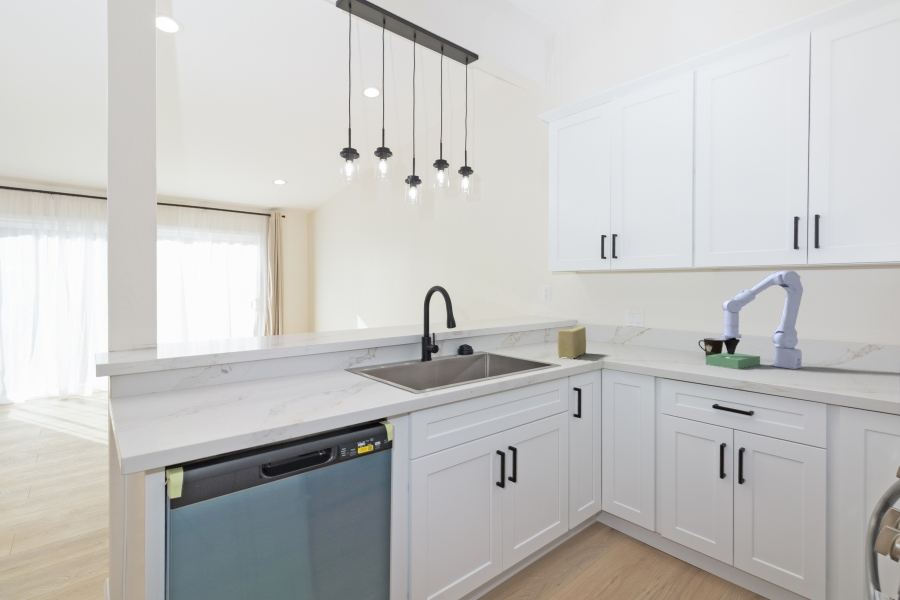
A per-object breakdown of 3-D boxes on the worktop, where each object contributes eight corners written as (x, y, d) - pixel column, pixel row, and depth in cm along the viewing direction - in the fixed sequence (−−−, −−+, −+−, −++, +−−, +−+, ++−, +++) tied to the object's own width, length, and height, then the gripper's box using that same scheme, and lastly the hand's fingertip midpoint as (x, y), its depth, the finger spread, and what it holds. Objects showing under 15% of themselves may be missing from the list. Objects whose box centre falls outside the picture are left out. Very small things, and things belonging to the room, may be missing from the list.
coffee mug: (727, 359, 213) (727, 340, 212) (709, 359, 213) (710, 340, 212) (713, 356, 224) (713, 337, 224) (696, 356, 224) (697, 337, 224)
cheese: (576, 352, 239) (576, 326, 239) (593, 354, 233) (593, 327, 232) (557, 357, 223) (557, 329, 222) (574, 359, 216) (574, 330, 216)
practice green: (728, 360, 212) (728, 352, 211) (759, 364, 199) (760, 356, 199) (705, 364, 201) (706, 355, 201) (737, 369, 189) (738, 360, 189)
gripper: (730, 324, 206) (729, 351, 206) (714, 325, 199) (713, 354, 199) (746, 325, 200) (745, 353, 200) (730, 326, 193) (729, 356, 193)
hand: (730, 354), depth 199 cm, fingers closed
